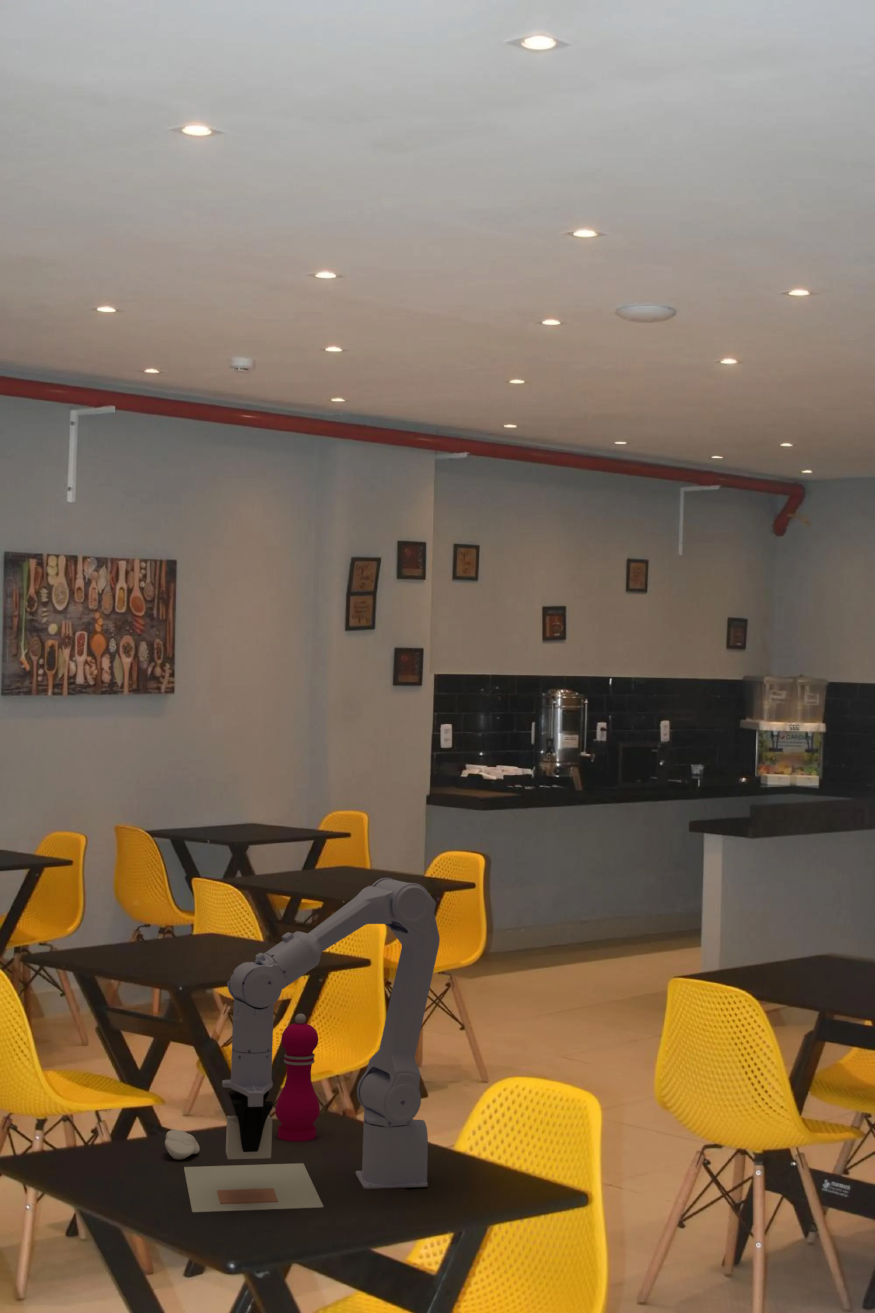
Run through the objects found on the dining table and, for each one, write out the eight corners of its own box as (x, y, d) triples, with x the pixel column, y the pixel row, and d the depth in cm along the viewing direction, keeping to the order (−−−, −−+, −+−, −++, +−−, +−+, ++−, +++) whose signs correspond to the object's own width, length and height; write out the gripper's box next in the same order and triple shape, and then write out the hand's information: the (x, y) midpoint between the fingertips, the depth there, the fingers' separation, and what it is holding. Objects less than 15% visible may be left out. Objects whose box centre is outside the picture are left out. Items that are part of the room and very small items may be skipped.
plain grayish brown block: (225, 1151, 219) (226, 1116, 219) (268, 1150, 220) (269, 1115, 220) (227, 1159, 215) (229, 1123, 215) (271, 1158, 216) (272, 1122, 216)
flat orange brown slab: (273, 1189, 221) (273, 1188, 221) (278, 1202, 215) (278, 1200, 215) (217, 1191, 219) (217, 1190, 219) (220, 1204, 213) (220, 1203, 213)
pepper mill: (274, 1132, 254) (278, 1009, 255) (318, 1132, 255) (322, 1010, 256) (274, 1144, 247) (278, 1017, 248) (319, 1144, 248) (323, 1018, 249)
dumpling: (169, 1152, 241) (170, 1126, 241) (202, 1153, 240) (203, 1127, 241) (159, 1165, 234) (160, 1138, 234) (194, 1166, 233) (195, 1139, 234)
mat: (303, 1165, 235) (303, 1163, 235) (323, 1209, 213) (323, 1207, 213) (183, 1169, 231) (183, 1167, 231) (192, 1214, 210) (192, 1212, 210)
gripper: (219, 1039, 224) (216, 1134, 224) (227, 1060, 210) (224, 1162, 210) (268, 1039, 226) (265, 1133, 225) (279, 1059, 212) (276, 1160, 211)
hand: (248, 1147), depth 218 cm, fingers closed on plain grayish brown block, 4 cm apart
